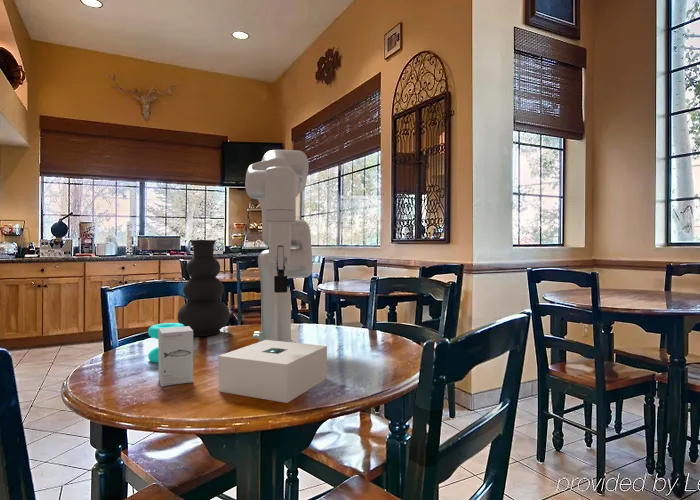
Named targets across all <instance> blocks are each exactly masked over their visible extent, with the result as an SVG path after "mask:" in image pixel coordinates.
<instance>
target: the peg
mask: <svg viewBox="0 0 700 500" xmlns="http://www.w3.org/2000/svg"><path fill="white" fill-rule="evenodd" d="M281 352H284V350H283V349H269V350H267V351H266V353H274V354H279V353H281Z"/></svg>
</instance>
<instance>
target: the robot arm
mask: <svg viewBox="0 0 700 500" xmlns="http://www.w3.org/2000/svg"><path fill="white" fill-rule="evenodd" d="M309 167H310V166H309V159H308V157H307V155H306V153H305V152H304V151H302V150H299V149H298V150H294V149H291V150H290V149H272V150H268V151H266V153H264V155H263V156H262V158H261V161H257V162H255V163H252V164H250V165H249V166H248V168H247V169H246V173H245V182H244V187H245V192H246V194H247V196H248V197H249V198H251V199H253V200H254V199H255V200H257V201H258V203H259V207H260V209H261V230H262V231H261V233H262V234H261V235H262V236H261V237H262V241H263V243H264V245H265V246H266V247H268V249H265V250H263V251H261V252H260V254H259V255H258V258H257V265H258V273H259V280H260V300H261V301H260V304H261V305H260V307H261V309H260V313H261V314H260V315H261V318H260V320H261V325H260V326H261V327H260V328H261V330H260V331H254V332H253V334H252V339H255V340H256V339H258V342H261V341H264V340H272V341H282V342H292V343H297V342H296V340H294V339H292V293H291V290H290V287H288V279H301V278H308V277H310V276H311V274H312V272H313V265H314V264H313V249H312V234H311V229H310V226H309V224H308V221H306V220H303V219H297V218H296V217H297V209H296V208H297V205H296V204H297V201H296V200H297V199H296V198H297V197H298V196H299V194H300V193H301V194H302V192H305V189H306V185H307V180H308V174H309Z"/></svg>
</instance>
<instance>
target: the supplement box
mask: <svg viewBox="0 0 700 500" xmlns="http://www.w3.org/2000/svg"><path fill="white" fill-rule="evenodd" d="M157 340H158V341H157V342H158V346H157V347H158V349H159V363H158V380H159V384H160V387H166V386H172V385H173V386H174V385H180V384H181V385H182V384H189V383H193V382H194V336H193V330H192V329H191V328H190V326H185V327H172V328H159V329H158V339H157Z"/></svg>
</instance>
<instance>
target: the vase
mask: <svg viewBox="0 0 700 500" xmlns="http://www.w3.org/2000/svg"><path fill="white" fill-rule="evenodd" d="M189 241H190V243H191V244H192V249H193V257H191V259H190V260H189V261H188V263H186V264H187V265H186V272H187V274H188V275H189V277H190V279H189V280H187V281H186V283H185V284H184V286H183V291H182V292H183V295H184V296H185V298H186V299H187V300H189V301H187V302H186V303H185V304H183V305H182V306H181V307H180V309H179V310H178V313H177V323H181V324H183V325H184V326H190V328H191V329H192V330H193V337H209V336H215V335H217V334H219V333H220V332H221V329H223V328H224V327H226V325H228V322H229V320H230V317H231V312H230V309H229V307H228V306H227V305H226V304H225V303H224V302H222V301H220V300H219V299H220V298H221V297H222V296H223V294H224V292H225V287H224V284H223V282H222V281H221V280H220V279H219V278H217V276H218V275H219V273H220V271H221V264H220V262H219V261H218V259H217V258H216V257H214V250H215V248H214V247H215V244H216V242H217V240H216V239H190V240H189Z"/></svg>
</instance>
